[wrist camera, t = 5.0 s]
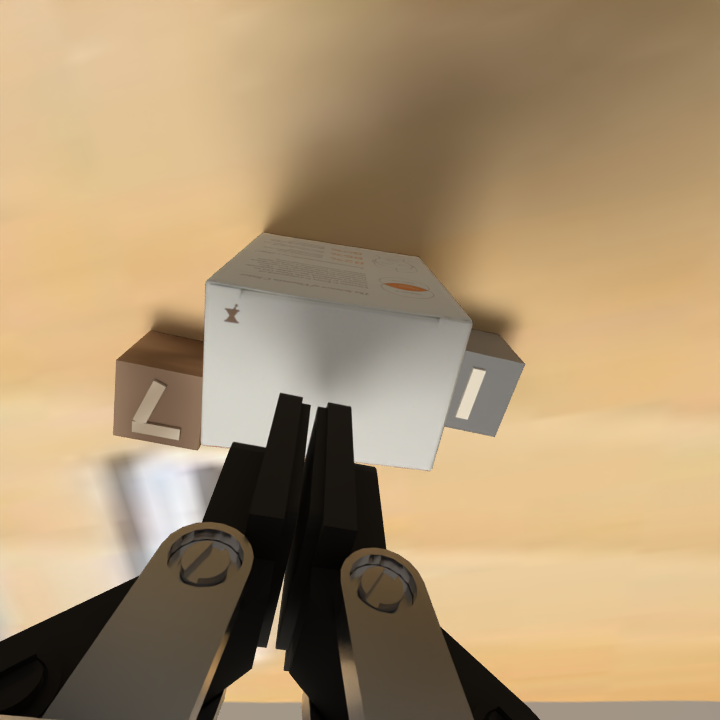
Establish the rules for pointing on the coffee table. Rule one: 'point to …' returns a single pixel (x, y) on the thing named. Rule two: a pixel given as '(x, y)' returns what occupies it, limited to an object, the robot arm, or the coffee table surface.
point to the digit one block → (484, 384)
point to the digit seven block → (160, 391)
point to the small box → (332, 346)
